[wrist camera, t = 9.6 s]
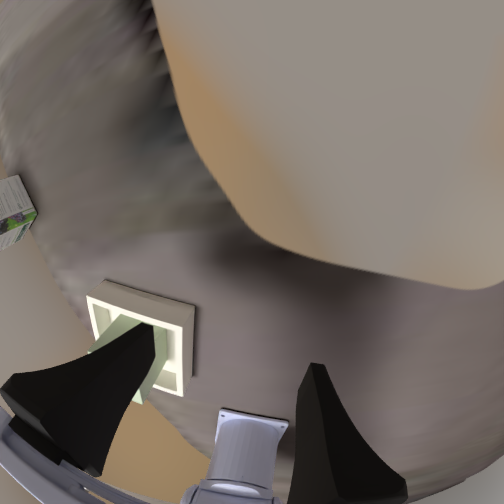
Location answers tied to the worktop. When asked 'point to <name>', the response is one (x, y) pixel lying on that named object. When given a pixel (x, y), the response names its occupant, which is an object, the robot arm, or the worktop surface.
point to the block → (160, 339)
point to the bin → (154, 312)
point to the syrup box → (14, 211)
